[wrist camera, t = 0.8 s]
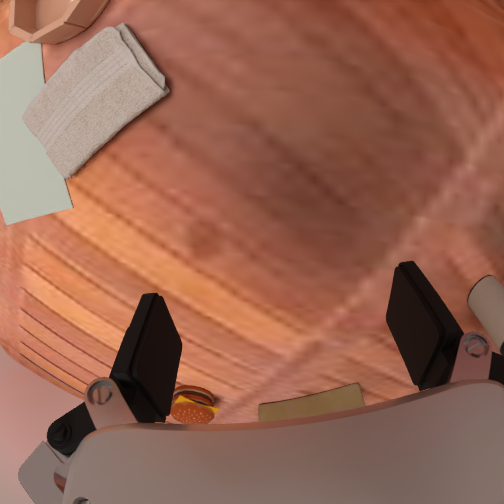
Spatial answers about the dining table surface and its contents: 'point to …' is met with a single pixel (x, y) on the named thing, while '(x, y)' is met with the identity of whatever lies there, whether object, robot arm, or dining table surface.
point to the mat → (25, 143)
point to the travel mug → (489, 308)
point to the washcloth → (93, 97)
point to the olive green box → (314, 404)
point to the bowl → (52, 19)
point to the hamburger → (193, 405)
